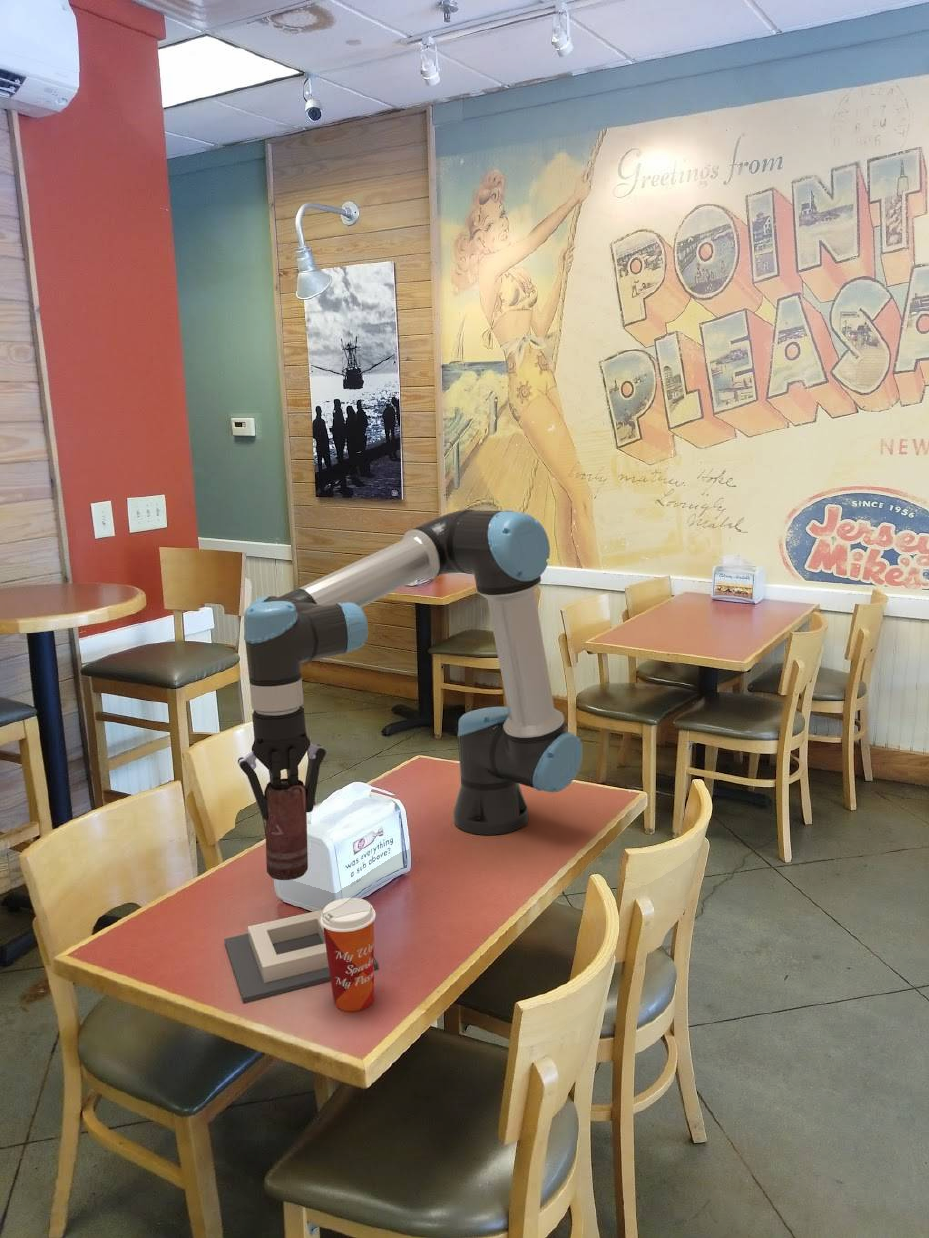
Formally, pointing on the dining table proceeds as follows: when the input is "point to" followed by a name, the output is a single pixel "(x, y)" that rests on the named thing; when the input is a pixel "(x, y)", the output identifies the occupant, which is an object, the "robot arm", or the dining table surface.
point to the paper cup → (350, 952)
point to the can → (286, 831)
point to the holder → (291, 961)
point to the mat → (252, 978)
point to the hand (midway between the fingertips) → (290, 858)
